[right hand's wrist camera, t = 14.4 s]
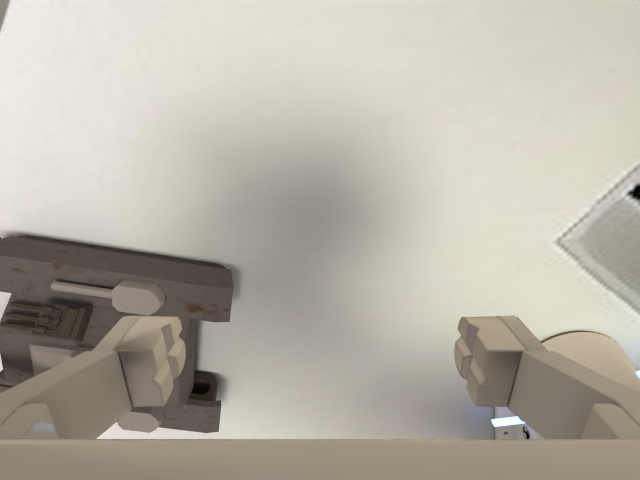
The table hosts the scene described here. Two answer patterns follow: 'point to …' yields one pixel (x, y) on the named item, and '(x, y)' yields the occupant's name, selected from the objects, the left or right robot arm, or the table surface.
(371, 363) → the table surface
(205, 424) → the toy
